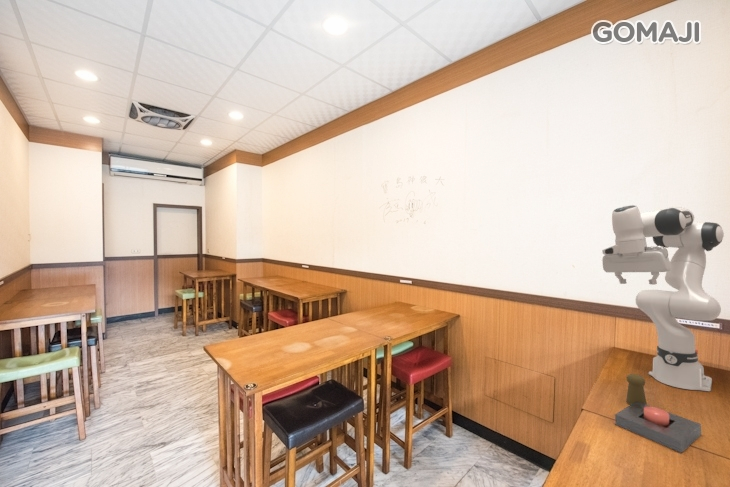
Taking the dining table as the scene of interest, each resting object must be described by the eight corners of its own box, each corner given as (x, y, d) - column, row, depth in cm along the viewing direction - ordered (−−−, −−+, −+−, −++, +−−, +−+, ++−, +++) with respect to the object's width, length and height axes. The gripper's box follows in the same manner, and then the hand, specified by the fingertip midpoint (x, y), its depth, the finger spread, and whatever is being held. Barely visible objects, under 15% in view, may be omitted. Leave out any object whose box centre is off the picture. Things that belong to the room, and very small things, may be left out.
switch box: (637, 410, 109) (636, 401, 109) (701, 435, 95) (700, 424, 95) (615, 424, 101) (614, 414, 101) (681, 453, 87) (680, 441, 87)
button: (648, 416, 102) (648, 404, 102) (672, 425, 97) (672, 413, 97) (640, 421, 99) (640, 409, 99) (665, 431, 94) (664, 418, 94)
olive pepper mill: (651, 409, 109) (650, 379, 109) (632, 408, 111) (631, 378, 111) (640, 400, 115) (639, 372, 115) (622, 399, 116) (621, 371, 116)
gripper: (671, 244, 106) (678, 283, 105) (607, 249, 125) (613, 282, 124) (661, 246, 104) (668, 286, 103) (597, 250, 123) (603, 284, 122)
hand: (637, 284), depth 114 cm, fingers open, 8 cm apart
